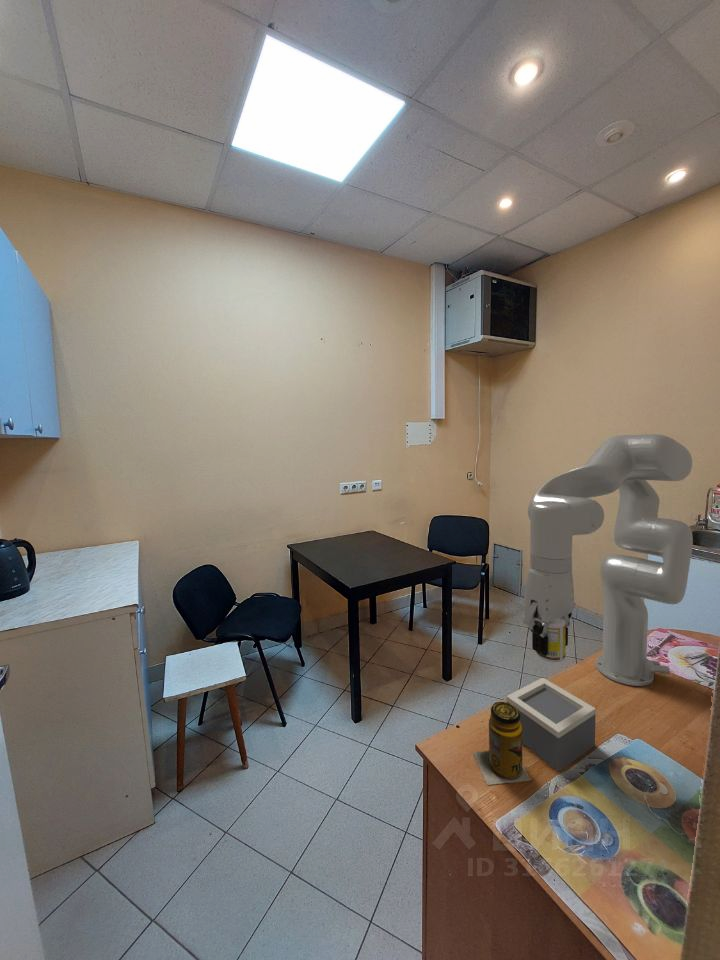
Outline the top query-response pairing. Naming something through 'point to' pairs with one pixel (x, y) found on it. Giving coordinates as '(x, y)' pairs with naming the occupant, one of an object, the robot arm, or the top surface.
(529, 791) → the top surface
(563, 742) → the stand
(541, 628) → the robot arm
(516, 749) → the condiment
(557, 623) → the supplement bottle
